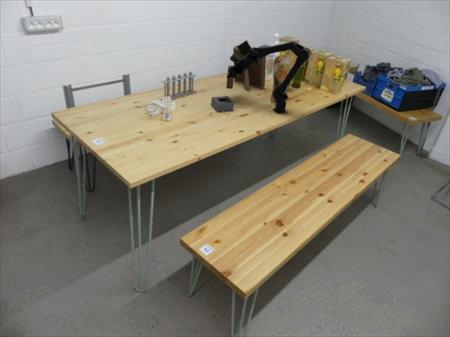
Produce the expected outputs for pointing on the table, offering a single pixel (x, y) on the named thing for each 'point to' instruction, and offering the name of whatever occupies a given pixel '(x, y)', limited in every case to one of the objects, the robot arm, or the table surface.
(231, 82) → the walnut pin
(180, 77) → the test tube rack
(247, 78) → the photo frame
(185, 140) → the table surface
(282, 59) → the pancake mix bag
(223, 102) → the bore block
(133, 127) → the table surface
